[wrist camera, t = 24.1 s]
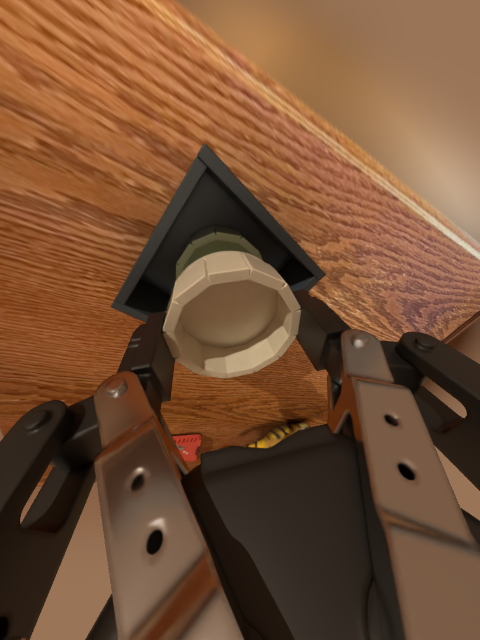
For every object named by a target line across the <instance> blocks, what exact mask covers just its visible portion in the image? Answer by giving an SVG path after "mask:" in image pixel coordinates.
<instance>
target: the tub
mask: <svg viewBox="0 0 480 640" xmlns="http://www.w3.org/2000/svg"><path fill="white" fill-rule="evenodd" d="M210 226H226V227H230V228H232V229H236V230H237V231H239V232H240V233H241V234H243V235H244V236H245V237H246V238H247V239H248V240H249V241H250V242H251V243H252V244H253V245H254V246H255V247H256V248H257V249H258V250H259V252H260V253H261V256H262V260H263V261H264V262H266V263H267V264H269V265H271V266H272V267H273V268H274V269H275V270H276V271H277V272H278V274H279V275H280V276H281V277H282V278H283V279H284V280H285V282H286V283H287V284H288V286H289V287H290V289H291V291H296V290H302V289H304V290H305V291H306V292H308V291H309V290H310V289H311V288H312V287H313V286H315V285H316V284H317V283H318V282H319V280H321V279H322V278H323V277H324V276H325V275H326V274H325V273H324V272H323V271H322V270H321V269H320V267H319V266H318V265H317V264H316V263H315V262H314V261H313V260H312V259H311V258H310V257H309V256H308V254H307V253H306V252H305V251H304V250H303V249H302V248H301V247H300V246H299V245H298V244H297V242H296V241H295V240H294V239H293V238H292V237H291V236H290V235H289V234H288V233H287V232H286V230H285V229H284V228H283V227H282V226H281V225H280V224H279V223H278V222H277V221H276V220H275V219H274V217H273V216H272V215H271V214H270V213H269V212H268V211H267V210H266V209H265V208H264V207H263V205H262V204H261V203H260V202H259V201H258V200H257V199H256V198H255V197H254V196H253V195H252V193H251V192H250V191H249V190H248V189H247V188H246V187H245V186H244V185H243V184H242V183H241V182H240V180H239V179H238V178H237V177H236V176H235V175H234V174H233V173H232V172H231V171H230V170H229V168H228V167H227V166H226V165H225V164H224V163H223V162H222V161H221V160H220V159H219V158H218V156H217V155H216V154H215V153H214V152H213V151H212V150H211V149H210V148H209V147H208V146H207V145H206V144H205V143H204V144H203V146H202V148H201V149H200V151H199V153H198V155H197V157H196V158H195V160H194V162H193V163H192V165H191V167H190V169H189V170H188V172H187V174H186V176H185V177H184V179H183V181H182V183H181V184H180V186H179V188H178V190H177V191H176V193H175V195H174V197H173V198H172V200H171V202H170V203H169V205H168V207H167V209H166V210H165V212H164V214H163V216H162V217H161V219H160V221H159V223H158V224H157V226H156V228H155V230H154V231H153V233H152V235H151V237H150V238H149V240H148V242H147V244H146V245H145V247H144V249H143V251H142V252H141V254H140V256H139V258H138V259H137V261H136V263H135V265H134V266H133V268H132V270H131V272H130V273H129V275H128V277H127V279H126V280H125V282H124V284H123V286H122V287H121V289H120V291H119V293H118V294H117V296H116V298H115V300H114V301H113V303H112V305H111V307H112V308H114V309H116V310H118V311H121V312H123V313H125V314H127V315H130V316H132V317H134V318H137V319H139V320H141V321H143V322H147V319H148V316H149V314H150V313H155V312H161V311H167V307H168V304H169V300H170V297H171V293H172V289H173V287H174V284H175V281H176V263H177V259H178V255H179V252H180V251H181V249H182V247H183V245H184V243H185V242H186V241H187V239H188V238H189V237H190V236H191V235H192V234H194V233H195V232H197V231H199V230H201V229H203V228H206V227H210Z"/></svg>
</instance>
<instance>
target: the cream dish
mask: <svg viewBox="0 0 480 640" xmlns="http://www.w3.org/2000/svg"><path fill="white" fill-rule="evenodd" d="M300 308H301V307H300V305H299V303H298V301H297V300H296V298H295V296H294V294H293V293H292V291H291V289H290V287H289V286H288V284H287V283H286V282H285V280H284V279H283V278H282V277H281V276H280V275H279V274H278V272H277V271H276V270H275V269H274V268H273V267H272V266H271V265H269V264H267V263H266V262H264V261H263V260H262V259H260V258H258V257H256V256H254V255H251V254H249V253H245V252H240V251H221V252H216V253H212V254H209V255H206V256H204V257H202V258H200V259H198V260H196V261H195V262H193V263H192V264H190V265H189V266H188V267H187V268H186V269H185V270H184V271H183V272H182V273H181V275H180V276H179V277H178V279H177V281H175V284H174V287H173V289H172V293H171V297H170V300H169V304H168V307H167V311H166V316H165V320H164V325H163V329H162V330H163V335H164V338H165V340H166V343H167V345H168V347H169V350H170V352H171V354H172V357H173V358H174V359H175V360H176V361H177V362H179V363H180V364H182V365H183V366H185V367H186V368H188V369H189V370H191V371H193V372H194V373H198V374H199V375H205V376H211V377H218V378H226V376H227V378H231V377H236V376H241V375H246V374H251V373H254V371H255V372H257V371H259V370H261V369H262V368H264V367H266V366H268V365H269V364H271V363H273V362H274V361H276V360H278V359H279V357H281V356H282V355H283V354H284V353H285V351H286V350H287V349H288V348H289V346H290V345H291V344H292V342H293V341H294V340H295V339H296V335H298V328H299V322H300V315H301V309H300Z"/></svg>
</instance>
